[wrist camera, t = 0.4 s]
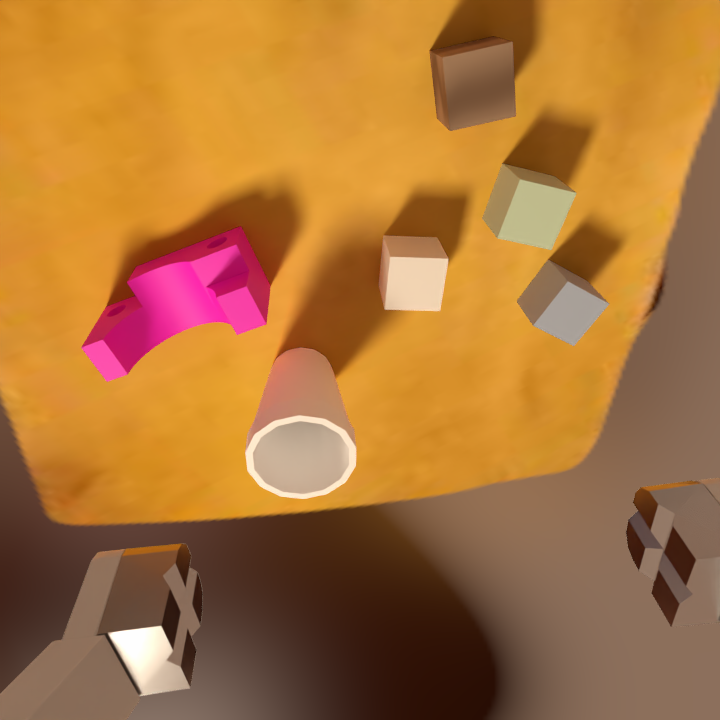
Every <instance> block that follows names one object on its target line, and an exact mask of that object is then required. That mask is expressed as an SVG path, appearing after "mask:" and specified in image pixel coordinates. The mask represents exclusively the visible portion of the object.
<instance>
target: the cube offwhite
mask: <svg viewBox="0 0 720 720" xmlns="http://www.w3.org/2000/svg"><path fill="white" fill-rule="evenodd" d="M447 265H448V257H447V255H446V253H445V251H444V249H443V247H442V245H441V243H440V242H439V240H438V238H437V237H413V236H387V235H383V245H382V255H381V266H380V276H379V289H380V293H381V297H382V301H383V305H384V309H385V310H420V311H440V308H441V302H442V296H443V290H444V284H445V278H446V271H447Z"/></svg>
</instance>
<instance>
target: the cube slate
mask: <svg viewBox="0 0 720 720" xmlns="http://www.w3.org/2000/svg"><path fill="white" fill-rule="evenodd" d="M517 303H518V304H519V305H520V307H521V308H522V310H523V311H524V313H525V314H526V316H527V317H528V319H529V320H530V322H531V323H532V325H533V326H535V327H537V328H539V329H541V330H543V331H545V332H547V333H549V334H551V335H553V336H555V337H557V338H559V339H561V340H563V341H565V342H567V343H569V344H571V345H573V346H574V345H575V344H576V343H577V342H578V341H579V339H580V338H581V337H582V336H583V335H584V333H585V332H586V331H587V330H588V329H589V328H590V326H591V325H592V324H593V323H594V322H595V320H596V319H597V318H598V317H599V316H600V314H601V313H602V312H603V311H604V310H605V309H606V307H607V306H608V305H609V303H608V302H607V301H606V300H605V299H604V298H603V297H602V296H601V295H600V294H599V293H598V292H597V291H596V290H595V289H594V288H593V286H592V285H591V284H590V283H589V282H588V281H586V280H585V279H583V278H581V277H579V276H577V275H576V274H574V273H572V272H570V271H568V270H566V269H565V268H563V267H561V266H559V265H557V264H556V263H554V262H552V261H550V260H547V262H546V263H545V264H544V266H543V267H542V268H541V270H540V271H539V272H538V274H537V275H536V276H535V278H534V279H533V280H532V282H531V283H530V284H529V286H528V287H527V288H526V290H525V291H524V292H523V293H522V295H521V296H520V297H519V299H518V300H517Z"/></svg>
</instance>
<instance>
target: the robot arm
mask: <svg viewBox="0 0 720 720" xmlns="http://www.w3.org/2000/svg"><path fill="white" fill-rule="evenodd" d="M633 503H634V505H635V507H636V508H637V510H638V511H637V512H636V513H635V514H634V515H633V516H632V517H631V518H630V519H629V520H628V524H627V530H626V536H627V544H628V549H629V551H630V554H631V557H632V559H633V561H634V563H635V565H636V567H637V568H638V570H639V571H640V572H641V573H643V574H644V575H646V576H647V577H649V578H650V579H652V580H653V581H654V583H653V588H652V595H653V597H654V598H655V600H656V602H657V603H658V605H659V607H660V608H661V610H662V612H663V614H664V616H665V617H666V619H667V621H668V622H669V624H670V626H671V627H678V626H689V625H699V624H709V623H720V478H714V479H705V480H696V481H686V482H678V483H670V484H663V485H655V486H648V487H640V489H639V490H638V491H637V492H636V493H635V496H634V500H633ZM190 560H191V554H190V551H189V549H188V547H187V544H174V545H163V546H153V547H142V548H131V549H123V550H114V551H104V552H98V553H97V554H96V556H95V557H94V558H93V559H92V561H91V563H90V565H89V568H88V571H87V573H86V576H85V579H84V582H83V584H82V587H81V590H80V592H79V595H78V598H77V601H76V603H75V606H74V609H73V612H72V614H71V617H70V619H69V622H68V625H67V627H66V630H65V633H64V636H63V638H62V640H59V641H53V642H52V643H51V644H50V645H49V646H48V647H47V648H46V649H45V650H44V651H43V652H42V653H41V654H40V655H39V656H38V657H37V658H36V659H35V660H34V661H33V662H32V663H31V664H30V665H29V666H28V667H27V668H26V669H25V670H24V671H23V672H22V673H21V674H20V675H19V676H18V677H17V678H16V679H15V680H14V681H13V682H12V683H11V684H10V685H9V686H8V687H7V688H6V689H5V690H4V691H3V692H2V693H1V694H0V720H126V719H127V718H128V717H129V715H130V714H131V712H132V711H133V709H134V708H135V706H136V705H137V704H138V702H139V701H140V696H142V695H149V694H155V693H161V692H168V691H175V690H180V689H188V688H190V686H191V681H192V675H193V669H194V662H195V656H196V647H195V645H194V642H193V640H192V638H191V636H192V635H193V634H194V633H195V632H196V630H197V629H198V628H199V627H200V625H201V618H202V611H203V592H202V586H201V581H200V578H199V575H198V572H196V571H195V570H193V569H192V568H190V567H189V566H190Z"/></svg>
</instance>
